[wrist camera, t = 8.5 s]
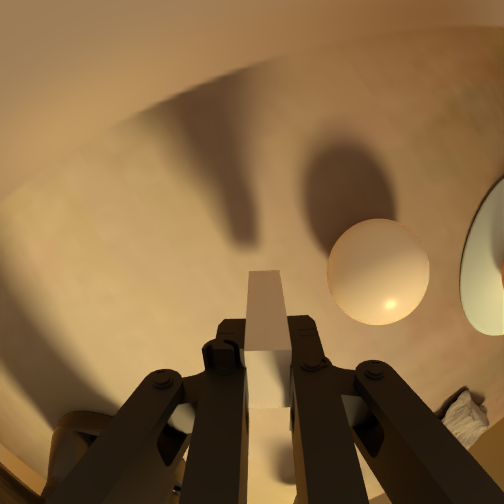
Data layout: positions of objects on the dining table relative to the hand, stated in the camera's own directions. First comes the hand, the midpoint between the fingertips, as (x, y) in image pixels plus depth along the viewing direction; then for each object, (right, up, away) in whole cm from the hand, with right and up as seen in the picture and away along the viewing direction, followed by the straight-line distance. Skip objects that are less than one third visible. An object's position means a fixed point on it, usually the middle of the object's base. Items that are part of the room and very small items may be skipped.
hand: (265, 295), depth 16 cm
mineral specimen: (+19, -16, +9) cm, 27 cm away
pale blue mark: (+21, +2, +2) cm, 21 cm away
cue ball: (+6, +1, -1) cm, 6 cm away
